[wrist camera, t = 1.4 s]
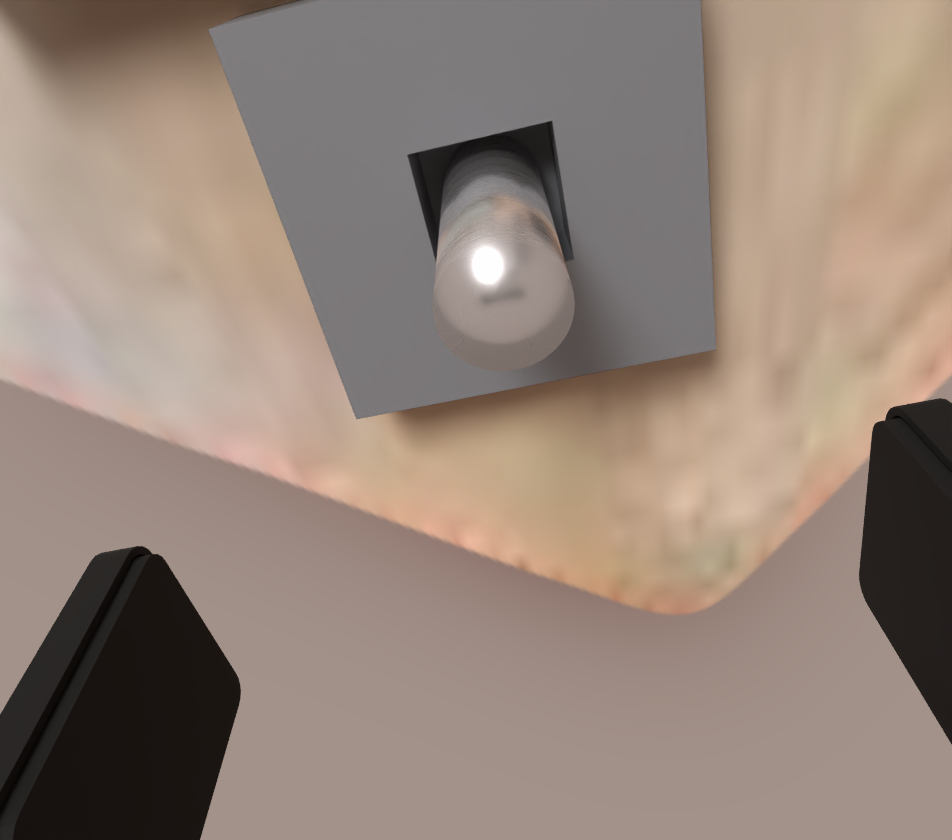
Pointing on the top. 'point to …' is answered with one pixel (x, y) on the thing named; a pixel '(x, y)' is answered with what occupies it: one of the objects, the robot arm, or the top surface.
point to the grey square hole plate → (469, 117)
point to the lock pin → (499, 259)
